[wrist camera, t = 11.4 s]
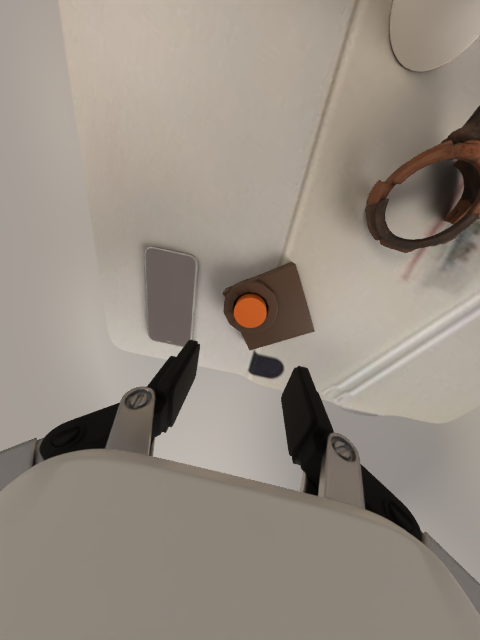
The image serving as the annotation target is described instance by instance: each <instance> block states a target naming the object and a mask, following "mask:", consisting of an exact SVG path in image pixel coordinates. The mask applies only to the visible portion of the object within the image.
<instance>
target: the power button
mask: <svg viewBox="0 0 480 640" xmlns="http://www.w3.org/2000/svg"><path fill="white" fill-rule="evenodd" d="M266 314H267V312H266V305H265V302H264V300H263V299H262V298H261V297H260V296H258V295H256V294H245V295H243V296H241V297H240V298H239V299H238V301H237V302H236V305H235V308H234V317H235V319H236V321H237V322H238V323H239V324H240V325H242V326H243V327H247V328H254V327H257V326H259V325H261V324H262V323H263V322H264V320H265V318H266Z"/></svg>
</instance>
